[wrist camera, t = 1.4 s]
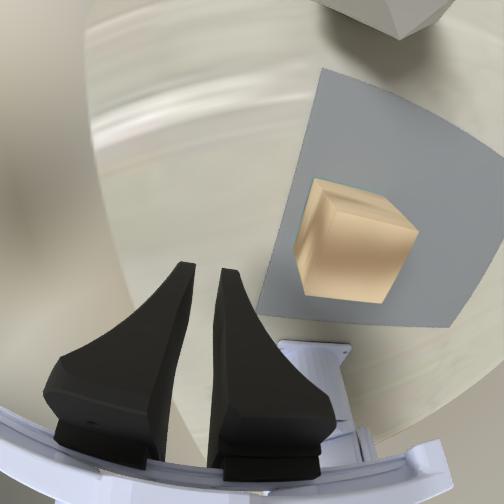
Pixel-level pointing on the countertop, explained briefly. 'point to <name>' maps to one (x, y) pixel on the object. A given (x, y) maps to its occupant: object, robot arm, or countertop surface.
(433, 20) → the die
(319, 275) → the oak block
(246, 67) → the countertop surface
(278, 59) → the countertop surface
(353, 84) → the rubber mat
